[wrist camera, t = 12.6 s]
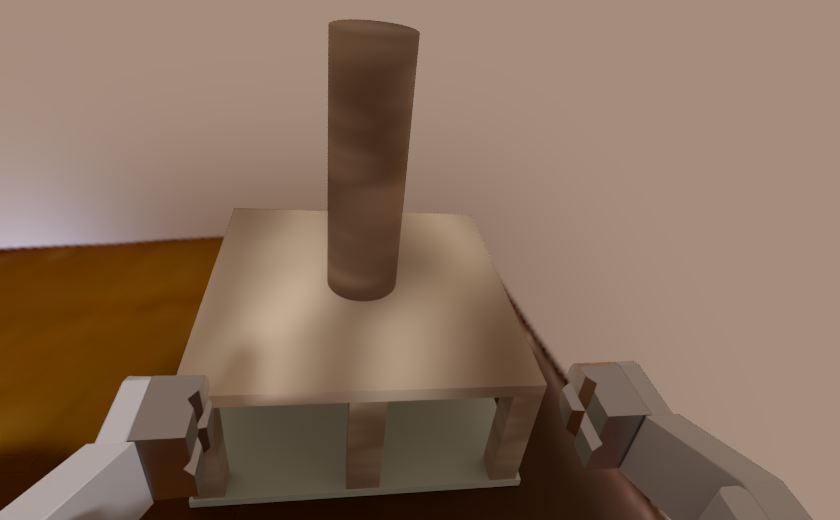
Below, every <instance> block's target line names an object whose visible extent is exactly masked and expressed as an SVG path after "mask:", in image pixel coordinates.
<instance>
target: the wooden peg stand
mask: <svg viewBox="0 0 840 520" xmlns="http://www.w3.org/2000/svg"><path fill="white" fill-rule="evenodd" d="M419 34H420V33H419V31H417V30H415V29H413V28H410V27H407V26H403V25H399V24H394V23H387V22H380V21H371V20H337V21H333V22H330V23H329V49H328V51H329V52H328V56H329V58H328V61H329V62H328V65H329V66H328V211H319V210H318V211H316V210H281V209H244V208H234V211H233V214H232V216H231V219H230V222H229V225H228V228H227V231H226V234H225V236H224V239H223V242H222V245H221V248H220V251H219V254H218V257H217V260H216V262H215V265H214V268H213V271H212V274H211V277H210V280H209V283H208V286H207V288H206V291H205V294H204V297H203V300H202V303H201V306H200V309H199V311H198V314H197V317H196V320H195V323H194V326H193V329H192V332H191V335H190V337H189V340H188V343H187V346H186V349H185V352H184V355H183V358H182V361H181V363H180V366H179V369H178V372H177V375H176V376H181V375H205V376H207V377H208V381H209V386H210V389H209V393H208V397H207V399H209V400H210V401H211V402H213V408H214V429H213V437H212V442H211V446H210V448H209V449H208V450H207V451H206V452H205V453H204V459H205V465H206V468H205V472H204V476H203V481H202V485H201V489H200V493H199V496H195V497H193V499H208V498H224V497H225V493H226V487H227V482H228V477H229V472H230V470H229V464H228V458H227V452H226V446H225V440H224V434H223V428H222V422H221V416H220V410H219V408H220V407H248V406H276V405H304V404H332V403H348V418H347V445H346V490H348V489H364V488H379V485H380V475H381V465H382V455H383V445H384V435H385V425H386V415H387V405H388V401H415V400H443V399H471V398H499V401H498V404H497V408H496V412H495V415H494V419H493V423H492V426H491V430H490V434H489V437H488V441H487V445H486V448H485V452H484V456H483V458H484V462H485V466H486V469H487V473H488V477H489V480H504V479H515V478H516V475H517V472H518V469H519V467H520V464H521V461H522V458H523V455H524V452H525V449H526V446H527V443H528V440H529V437H530V434H531V431H532V428H533V425H534V422H535V420H536V417H537V414H538V411H539V408H540V405H541V402H542V399H543V396H544V393H545V390H546V387H547V384H546V381H545V379H544V377H543V375H542V372H541V370H540V368H539V366H538V364H537V361H536V359H535V357H534V355H533V352H532V350H531V348H530V346H529V343H528V341H527V339H526V337H525V335H524V332H523V330H522V328H521V326H520V323H519V321H518V319H517V317H516V314H515V312H514V310H513V308H512V306H511V303H510V301H509V299H508V297H507V294H506V292H505V290H504V288H503V285H502V283H501V281H500V279H499V276H498V274H497V272H496V270H495V268H494V265H493V263H492V261H491V259H490V256H489V254H488V252H487V250H486V247H485V245H484V243H483V241H482V239H481V236H480V234H479V232H478V230H477V228H476V225H475V223H474V221H473V218H472V216H471V215H468V214H431V213H403V203H404V192H405V181H406V171H407V161H408V150H409V140H410V129H411V118H412V108H413V97H414V87H415V75H416V66H417V55H418V44H419Z"/></svg>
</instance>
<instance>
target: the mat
mask: <svg viewBox="0 0 840 520" xmlns="http://www.w3.org/2000/svg"><path fill="white" fill-rule="evenodd" d="M496 408H497V406H496V403H495V399H494V398H471V399H443V400H415V401H388V405H387V415H386V425H385V435H384V445H383V455H382V465H381V475H380V485H379V488H364V489H348V490H346V445H347V418H348V403H332V404H304V405H276V406H248V407H220V408H219V410H220V416H221V422H222V428H223V434H224V440H225V446H226V452H227V458H228V464H229V470H230V472H229V477H228V482H227V487H226V493H225V497H224V498H208V499H193V497H190V498H189V506H190V508H193V507H208V506H223V505H237V504H252V503H267V502H281V501H296V500H310V499H325V498H340V497H354V496H369V495H384V494H398V493H413V492H427V491H442V490H457V489H471V488H486V487H501V486H515V485H519V484H520V481H521V479H520V476H519V472H517V475H516V478H515V479H504V480H489V477H488V473H487V469H486V466H485V462H484V458H483V456H484V452H485V448H486V445H487V441H488V437H489V434H490V430H491V426H492V423H493V419H494V415H495V412H496Z"/></svg>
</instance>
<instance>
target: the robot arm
mask: <svg viewBox="0 0 840 520" xmlns="http://www.w3.org/2000/svg"><path fill="white" fill-rule="evenodd" d="M567 376H568V378H569V380H570V383H569V384H567V385H566V386H565V387H564V388H563V389H562V391H561V395H560V398H559V411H560V415H561V419H562V421H563V424H564V426H565V428H566V429H567V430H568V431H569V432H571V433H572V434H573V435H575V439H574V443H573V446H574V448H575V450H576V453H577V455H578V457H579V459H580V461H581V463H582V466H583V468H584V470H589V469H615V468H620V469H619V471H620V472H621V473H622V474H623V475H624V476H625V477H626V478H628V479H629V480H630V481H631V482H632V483H633V484H634V485H635V486H636V487H637V488H638V489H639V490H640V491H641V492H642V493H644V494H645V495H646V496H647V497H648V498H649V499H650V500H651V501H652V502H653V503H654V504H655V505H656V506H657V507H658V508H660V509H661V510H662V511H663V512H664V513H665V514H666V515H667V516H668V517H669V518H670V519H671V520H813V519H812V518H811V517H810V515H809V514H808V513H807V511H806V510H805V509H804V508H803V506H802V505H801V504H800V503H799V501H798V500H797V499H796V498H795V496H794V495H793V494H792V493H791V491H790V490H789V489H788V487H787V486H786V485H785V484H784V482H783V481H781V480H780V479H779V478H777V477H776V476H774V475H772V474H771V473H769V472H768V471H766V470H765V469H763V468H762V467H760V466H759V465H757V464H755V463H754V462H752V461H751V460H749V459H748V458H746V457H745V456H743V455H742V454H740V453H738V452H737V451H735V450H734V449H732V448H731V447H729V446H728V445H726V444H725V443H723V442H721V441H720V440H718V439H717V438H715V437H714V436H712V435H711V434H709V433H708V432H706V431H704V430H703V429H701V428H700V427H698V426H697V425H695V424H693V423H692V422H691V421H689V420H687V419H686V418H684V417H683V416H681V415H680V414H673V413H672V412H671V410H670V409H669V407H668V406H667V404H666V403H665V401H664V400H663V399H662V397H661V396H660V394H659V393H658V391H657V390H656V388H655V387H654V386H653V384H652V383H651V381H650V380H649V378H648V377H647V375H646V374H645V373H644V371H643V370H642V368H641V367H640V365H639V364H637V363H636V362H634V361H627V362H601V363H578V364H573V365H572V366H571V367H570V369H569V372H568V374H567ZM209 389H210V386H209V381H208V377H207V376H205V375H181V376H128V377H127V378H126V379H125V380H124V381H123V382H122V384H121V386H120V389H119V391H118V393H117V395H116V397H115V399H114V402H113V404H112V406H111V408H110V410H109V413H108V415H107V417H106V419H105V421H104V424H103V426H102V428H101V430H100V432H99V434H98V437H97V439H96V441H95V443H94V444H86V445H84V446H83V447H82V448H80V449H79V450H78V451H77V452H75V453H74V454H73V455H72V456H70V457H69V458H68V459H66V460H65V461H64V462H63V463H61V464H60V465H59V466H57V467H56V468H55V469H54V470H52V471H51V472H50V473H49V474H47V475H46V476H45V477H43V478H42V479H41V480H40V481H38V482H37V483H36V484H34V485H33V486H32V487H31V488H29V489H28V490H27V491H26V492H24V493H23V494H22V495H20V496H19V497H18V498H17V499H15V500H14V501H13V502H11V503H10V504H9V505H8V506H6V507H5V508H4V509H2V510H1V511H0V520H139V519H140V518H141V517H142V516H143V515H144V513H145V512H146V511H147V510H148V509H149V508H150V507H151V505H152V504H153V500H163V499H174V498H184V497H195V496H199V493H200V489H201V485H202V481H203V476H204V472H205V468H206V465H205V459H204V453H205V452H206V451H207V450H208V449H209V448H210V446H211V442H212V437H213V429H214V408H213V402H211V401H210V400H209V399H207V397H208V393H209Z"/></svg>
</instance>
